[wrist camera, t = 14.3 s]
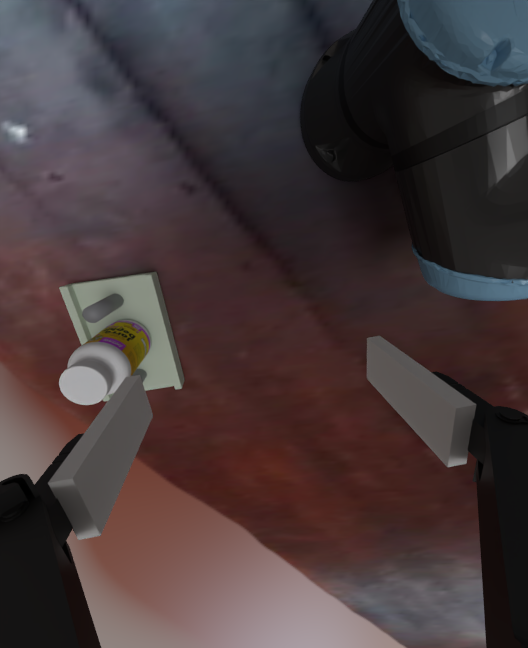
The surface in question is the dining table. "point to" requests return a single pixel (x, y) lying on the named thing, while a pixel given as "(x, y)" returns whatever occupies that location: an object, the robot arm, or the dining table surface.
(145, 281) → the tray
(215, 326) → the dining table surface
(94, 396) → the supplement bottle
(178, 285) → the dining table surface
